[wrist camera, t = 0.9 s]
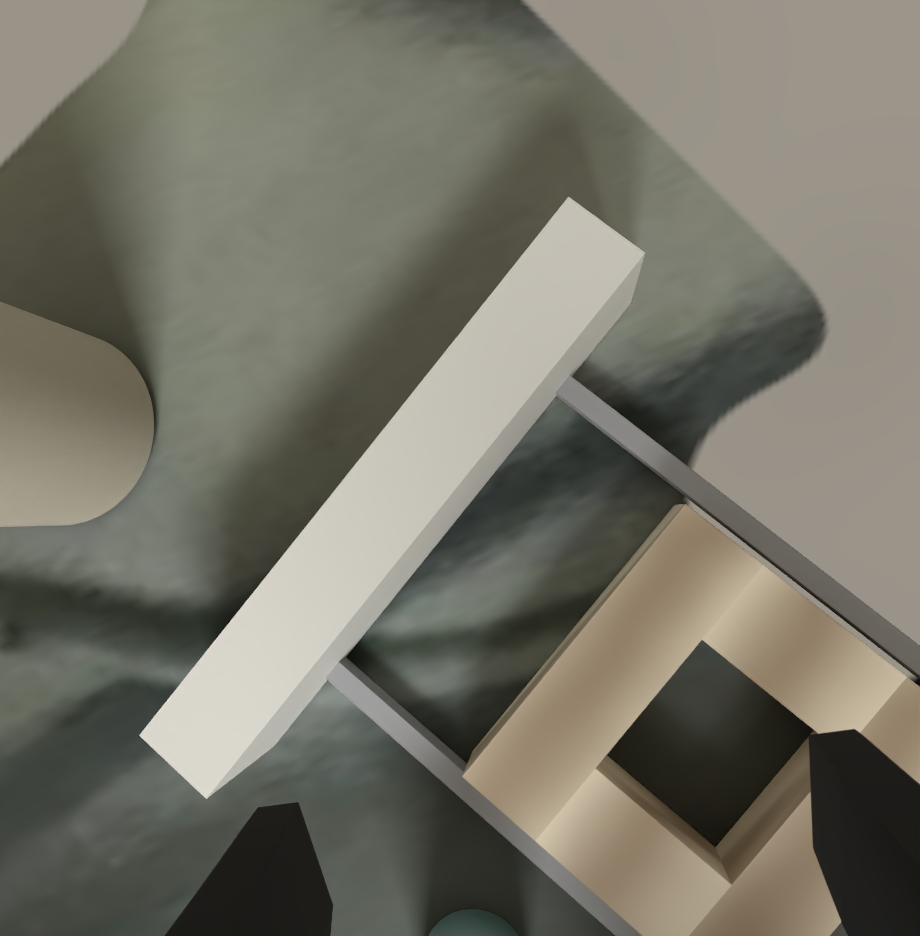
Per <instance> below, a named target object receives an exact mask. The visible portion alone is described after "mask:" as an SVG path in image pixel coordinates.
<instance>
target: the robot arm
mask: <svg viewBox="0 0 920 936" xmlns="http://www.w3.org/2000/svg"><path fill="white" fill-rule="evenodd" d="M809 760H810V786H811V813H812V839H813V849H814V852H815V855H816V857H817V860H818V863H819V865H820V868H821V870H822V873H823V876H824V878H825V881H826V884H827V886H828V889H829V892H830V894H831V897H832V899H833V902H834V904H835V907H836V909H837V912H838V914H839V917H840V919H841V922H842V924H843V926H844V928H845V930H846V932H847V934H848V936H920V784H919V783H918V782H917V781H915V780H914V779H913V778H912V777H911V776H910V775H908V774H907V773H906V772H905V771H904V770H903V769H901V768H900V767H899V766H898V765H897V764H896V763H895V762H893V761H892V760H891V759H890V758H889V757H888V756H887V755H885V754H884V753H883V752H882V751H881V750H880V749H879V748H877V747H876V746H875V745H874V744H873V743H872V742H870V741H869V740H868V739H867V738H866V737H865V736H864V735H862V734H861V733H860V732H858V731H857V730H855V729H850V730H842V731H835V732H827V733H820V734H812V735H809ZM332 910H333V904H332V901H331V898H330V895H329V892H328V889H327V886H326V883H325V880H324V877H323V874H322V871H321V868H320V865H319V862H318V859H317V856H316V853H315V850H314V847H313V844H312V841H311V838H310V835H309V832H308V830H307V827H306V824H305V821H304V818H303V815H302V812H301V809H300V806H299V803H298V802H296V803H289V804H281V805H274V806H266V807H259V808H257V810H256V811H255V812H254V813H253V815H252V816H251V817H250V819H249V820H248V822H247V823H246V824H245V826H244V827H243V828H242V830H241V831H240V832H239V834H238V835H237V837H236V838H235V839H234V841H233V842H232V844H231V845H230V847H229V848H228V849H227V851H226V852H225V854H224V855H223V856H222V858H221V859H220V861H219V862H218V863H217V865H216V866H215V868H214V869H213V870H212V872H211V873H210V875H209V876H208V877H207V879H206V880H205V882H204V883H203V884H202V886H201V887H200V889H199V890H198V891H197V893H196V894H195V895H194V897H193V898H192V900H191V901H190V902H189V904H188V905H187V906H186V908H185V909H184V910H183V912H182V913H181V914H180V916H179V917H178V918H177V920H176V921H175V922H174V924H173V925H172V926H171V928H170V929H169V930H168V932H167V933H166V935H165V936H330V933H331V922H332Z"/></svg>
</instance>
